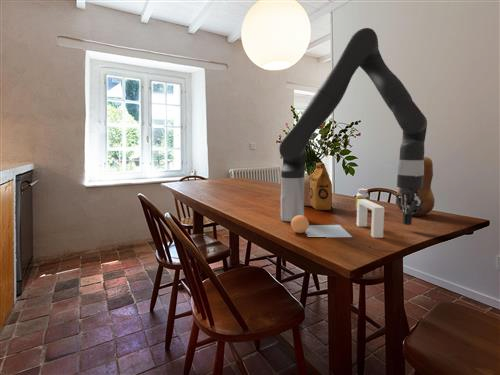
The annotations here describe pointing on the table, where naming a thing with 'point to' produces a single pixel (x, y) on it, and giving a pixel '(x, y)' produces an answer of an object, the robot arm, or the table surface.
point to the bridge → (377, 217)
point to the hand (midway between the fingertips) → (406, 224)
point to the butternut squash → (425, 189)
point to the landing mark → (326, 231)
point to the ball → (299, 224)
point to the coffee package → (320, 188)
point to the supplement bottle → (362, 195)
